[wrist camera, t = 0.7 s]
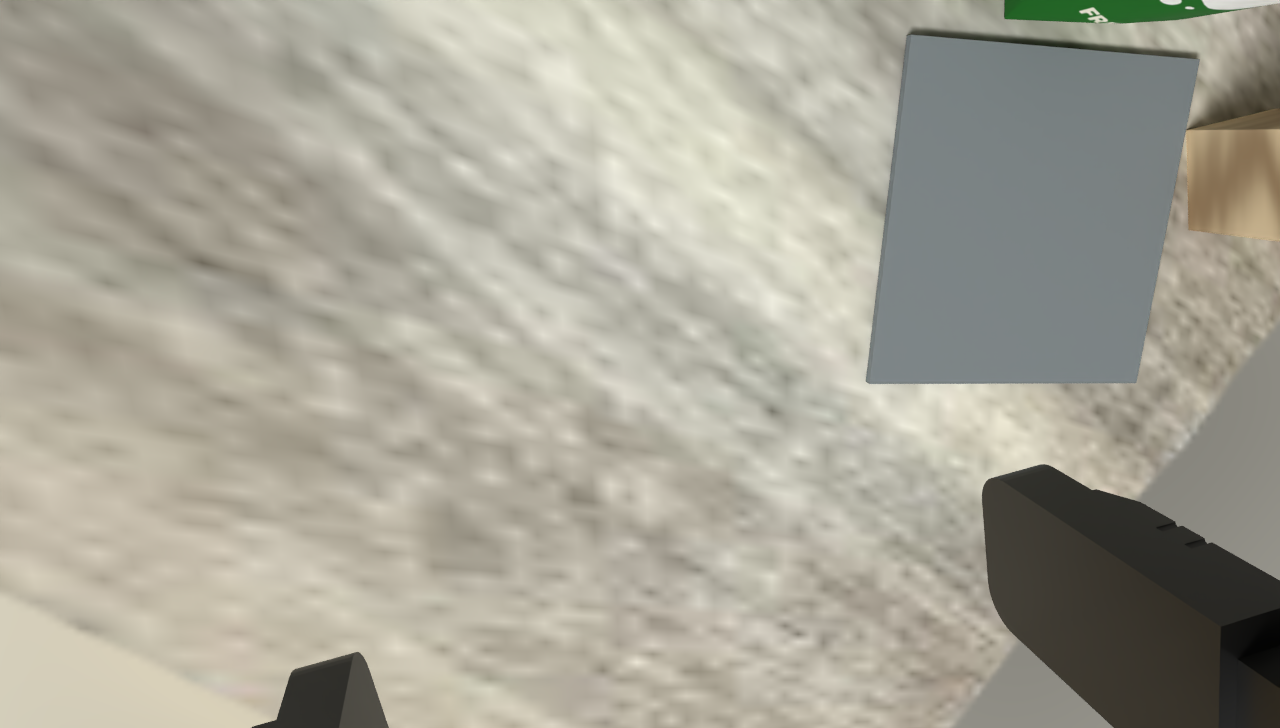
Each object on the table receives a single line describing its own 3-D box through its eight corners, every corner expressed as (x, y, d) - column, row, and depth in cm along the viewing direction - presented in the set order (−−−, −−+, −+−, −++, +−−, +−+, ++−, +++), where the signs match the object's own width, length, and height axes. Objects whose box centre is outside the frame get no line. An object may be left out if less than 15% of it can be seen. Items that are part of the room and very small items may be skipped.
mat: (906, 35, 39) (911, 34, 38) (1192, 60, 42) (1199, 59, 41) (866, 381, 43) (869, 383, 42) (1130, 381, 46) (1136, 383, 45)
